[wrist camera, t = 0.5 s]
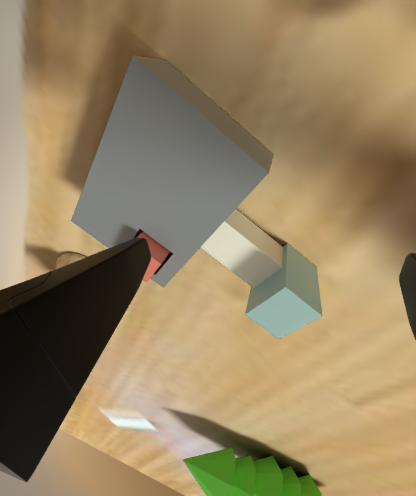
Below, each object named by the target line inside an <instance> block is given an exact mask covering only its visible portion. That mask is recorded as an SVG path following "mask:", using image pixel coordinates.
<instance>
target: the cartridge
mask: <svg viewBox="0 0 416 496" xmlns="http://www.w3.org/2000/svg"><path fill="white" fill-rule="evenodd" d="M201 248H202V249H204V250H205V251H206V252H207V253H209V254H210V255H211V256H213V257H214V258H215V259H217V260H218V261H219V262H220V263H222V264H223V265H224V266H226V267H227V268H228V269H230V270H231V271H232V272H233V273H235V274H236V275H237V276H239V277H240V278H241V279H243V280H244V281H245V282H246V283H248V284H249V285H250V286H251V290H250V295H249V300H248V304H247V309H246V315H247V316H248V317H250V318H251V319H252V320H254V321H255V322H256V323H258V324H259V325H260V326H262V327H263V328H264V329H266V330H267V331H268V332H270V333H271V334H272V335H274V336H275V337H276V338H278V339H280V338H282V337H284V336H286V335H288V334H289V333H291V332H293V331H295V330H297V329H299V328H301V327H303V326H305V325H307V324H308V323H310V322H312V321H314V320H316V319H318V318H320V317H322V308H321V300H320V292H319V283H318V275H317V267H316V266H315V265H314V264H312V263H311V262H310V261H309V260H307V259H306V258H305V257H304V256H303V255H301V254H300V253H299V252H298V251H296V250H295V249H294V248H293V247H292V246H290V245H289V244H288V243H287V244H286V245H284V246H283V247H282V246H281V245H280V244H278V243H277V242H276V241H275V240H273V239H272V238H271V237H270V236H269V235H267V234H266V233H265V232H264V231H262V230H261V229H260V228H259V227H258V226H256V225H255V224H254V223H253V222H251V221H250V220H249V219H248V218H246V217H245V216H244V215H243V214H242V213H240V212H239V211H238V210H237V209H235V210H234V211H233V212H232V213H231V214H230V215H229V217H228V218H227V219H226V220H225V221H224V222H223V223H222V224H221V225H220V226H219V227H218V229H217V230H216V231H215V232H214V233H213V234H212V235H211V236H210V237H209V238H208V239H207V241H206V242H205V243H204V244H203V245H202V246H201Z"/></svg>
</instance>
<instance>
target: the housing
mask: <svg viewBox="0 0 416 496" xmlns="http://www.w3.org/2000/svg"><path fill="white" fill-rule="evenodd" d="M273 155H274V154H273V153H272V152H270V151H269V150H268V149H267V148H266V147H265V146H264V145H262V144H261V143H260V142H259V141H258V140H257V139H256V138H254V137H253V136H252V135H251V134H250V133H249V132H248V131H247V130H245V129H244V128H243V127H242V126H241V125H240V124H239V123H237V122H236V121H235V120H234V119H233V118H232V117H231V116H229V115H228V114H227V113H226V112H225V111H224V110H223V109H221V108H220V107H219V106H218V105H217V104H216V103H215V102H214V101H212V100H211V99H210V98H209V97H208V96H207V95H206V94H204V93H203V92H202V91H201V90H200V89H199V88H198V87H196V86H195V85H194V84H193V83H192V82H191V81H190V80H188V79H187V78H186V77H185V76H184V75H183V74H182V73H181V72H179V71H178V70H177V69H176V68H175V67H174V66H173V65H171V64H170V63H169V62H168V61H167V60H162V59H155V58H149V57H142V56H135V55H133V56H132V59H131V61H130V64H129V67H128V69H127V72H126V75H125V77H124V80H123V83H122V85H121V88H120V91H119V93H118V96H117V99H116V102H115V104H114V107H113V110H112V112H111V115H110V118H109V120H108V123H107V126H106V128H105V131H104V134H103V136H102V139H101V142H100V144H99V147H98V150H97V152H96V155H95V158H94V161H93V163H92V166H91V169H90V171H89V174H88V177H87V179H86V182H85V185H84V187H83V190H82V193H81V195H80V198H79V201H78V203H77V206H76V209H75V211H74V214H73V217H72V219H71V221H72V222H73V223H75V224H76V225H78V226H79V227H80V228H82V229H83V230H84V231H86V232H87V233H89V234H90V235H91V236H93V237H94V238H96V239H97V240H98V241H100V242H101V243H102V244H104V245H105V246H107V247H108V248H111V247H113V246H116V245H119V244H121V243H124V242H126V241H129V240H131V239H134V238H137V237H138V236H139V235H140V234H141V233H142V232H143V231H144V232H145V233H146V234H148V235H149V236H150V237H152V238H153V239H154V240H156V241H157V242H158V243H160V244H161V245H162V246H164V247H165V248H166V249H168V250H169V251H170V253H169V254H168V255H167V257H166V258H165V260H164V261H163V262H162V264H161V265H160V266H159V267H158V269H157V270H156V271H155V272H154V274H153V275H152V276H151V277H150V278H151V279H152V280H154V281H155V282H156V283H158V284H159V285H160V286H162V287H163V288H164V286H165V285H166V284H167V283H168V282H169V281H170V280H171V279H172V278H173V277H174V276H175V274H176V273H177V272H178V271H179V270H180V269H181V268H182V267H183V266H184V265H185V264H186V262H187V261H188V260H189V259H190V258H191V257H192V256H193V255H194V254H195V253H196V252H197V250H198V249H199V248H200V247H201V246H202V245H203V244H204V243H205V242H206V241H207V239H208V238H209V237H210V236H211V235H212V234H213V233H214V232H215V231H216V230H217V229H218V227H219V226H220V225H221V224H222V223H223V222H224V221H225V220H226V219H227V218H228V217H229V215H230V214H231V213H232V212H233V211H234V210H235V209H236V208H237V207H238V206H239V205H240V203H241V202H242V201H243V200H244V199H245V198H246V197H247V196H248V195H249V194H250V192H251V191H252V190H253V189H254V188H255V187H256V186H257V185H258V184H259V183H260V182H261V180H262V179H263V178H264V177H265V176H266V175H267V174H268V173H269V170H270V166H271V163H272V159H273Z"/></svg>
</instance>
